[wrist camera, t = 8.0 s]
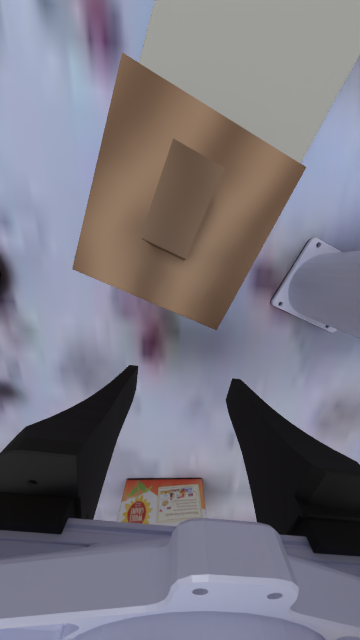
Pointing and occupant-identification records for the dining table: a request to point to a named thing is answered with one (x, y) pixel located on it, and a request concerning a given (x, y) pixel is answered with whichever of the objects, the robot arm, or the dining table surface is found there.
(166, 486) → the cracker box
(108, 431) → the robot arm
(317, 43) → the mat
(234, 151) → the lid
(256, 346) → the dining table surface
